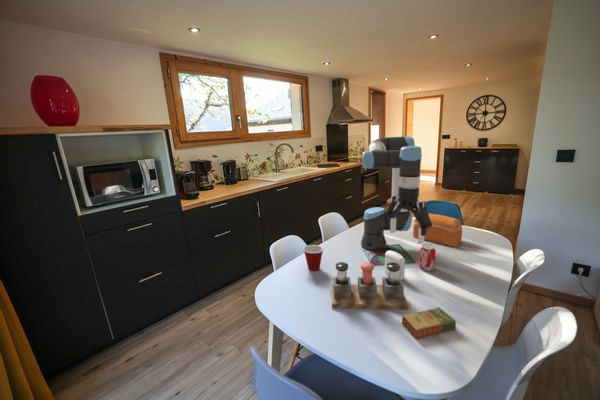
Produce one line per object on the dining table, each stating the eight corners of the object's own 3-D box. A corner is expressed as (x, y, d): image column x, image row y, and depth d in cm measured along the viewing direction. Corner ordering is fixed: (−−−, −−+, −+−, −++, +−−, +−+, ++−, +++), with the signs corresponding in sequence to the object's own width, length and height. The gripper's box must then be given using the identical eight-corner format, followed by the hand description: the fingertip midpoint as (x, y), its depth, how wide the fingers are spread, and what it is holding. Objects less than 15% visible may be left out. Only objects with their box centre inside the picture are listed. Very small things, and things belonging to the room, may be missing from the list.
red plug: (358, 282, 114) (358, 263, 111) (370, 280, 114) (370, 261, 112) (363, 289, 109) (364, 269, 106) (375, 287, 109) (376, 267, 107)
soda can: (436, 272, 130) (438, 249, 127) (420, 271, 131) (422, 249, 128) (432, 265, 136) (433, 243, 133) (417, 264, 138) (419, 243, 135)
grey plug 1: (334, 282, 115) (334, 263, 112) (345, 280, 116) (345, 261, 113) (338, 288, 110) (337, 269, 107) (350, 287, 111) (350, 267, 108)
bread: (419, 231, 181) (421, 209, 177) (462, 241, 162) (465, 216, 158) (410, 237, 172) (412, 214, 168) (455, 248, 153) (458, 222, 149)
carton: (401, 324, 98) (401, 314, 96) (438, 315, 101) (439, 306, 100) (416, 341, 90) (416, 330, 89) (455, 330, 93) (456, 320, 92)
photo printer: (383, 272, 132) (383, 249, 129) (389, 269, 134) (390, 247, 131) (398, 282, 123) (400, 258, 120) (405, 279, 125) (406, 255, 122)
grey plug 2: (383, 282, 112) (384, 263, 110) (395, 281, 113) (395, 261, 111) (389, 289, 107) (390, 269, 105) (401, 287, 108) (402, 267, 106)
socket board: (331, 307, 108) (331, 290, 106) (331, 287, 122) (331, 272, 120) (407, 309, 105) (409, 291, 103) (399, 289, 118) (399, 273, 116)
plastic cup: (328, 266, 140) (327, 246, 137) (317, 276, 132) (316, 254, 129) (311, 262, 146) (310, 242, 143) (300, 270, 138) (298, 249, 135)
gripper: (377, 183, 112) (376, 230, 117) (432, 193, 91) (428, 250, 96) (390, 181, 115) (388, 226, 121) (445, 190, 94) (440, 245, 100)
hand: (406, 237), depth 108 cm, fingers open, 13 cm apart
